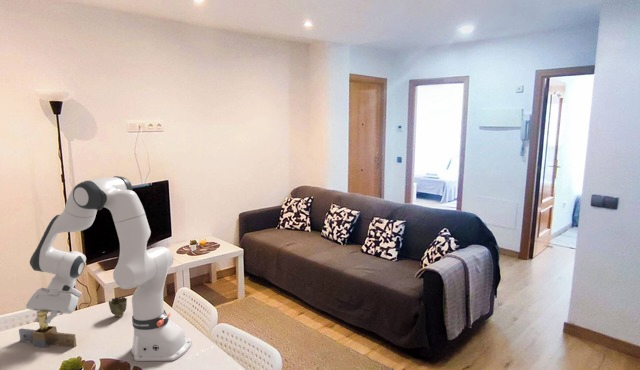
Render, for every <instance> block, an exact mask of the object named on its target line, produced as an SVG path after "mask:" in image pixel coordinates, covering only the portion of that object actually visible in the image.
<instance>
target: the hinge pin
mask: <svg viewBox="0 0 640 370" xmlns="http://www.w3.org/2000/svg"><path fill="white" fill-rule="evenodd" d="M48 313H49V312H48V310H42V311H39V312H37V311H36V317H37V316H38V318H39V322H38V326H39V328H40V332H41V333H45V332H46V331H48V330H49V328H48V326H49V323H44V320H45V318H48Z"/></svg>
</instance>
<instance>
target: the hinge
mask: <svg viewBox="0 0 640 370" xmlns="http://www.w3.org/2000/svg"><path fill="white" fill-rule="evenodd" d="M48 328H49V330H48V331H46V332H45V333H41V332H40V327H39V328H37V329H30V328H20V329H19V328H18V333H19V341H20V342H25V343H26V342H27V343H33V347H37V348H45V349H46V348H48V347H49V346H51V345H53V346H60V347H61V346H62V347H70V348H75V347H77V340H76V339H77V338H76V334H75V333H66V332H58V331H57V326H53V325H48Z"/></svg>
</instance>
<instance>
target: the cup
mask: <svg viewBox="0 0 640 370" xmlns="http://www.w3.org/2000/svg"><path fill="white" fill-rule="evenodd" d="M127 300H128V298H127V297H126V296H122V297H121V296H119V297H116V296H115V297H114V298H111V300H109V301H108V306H109V310H110V312H111V313H112V314H113V315H114V317H115V318H116V319H117V318H122V317H123V316H124V314H125V312H126V310H127V306H128V305H127V303H128V302H127Z"/></svg>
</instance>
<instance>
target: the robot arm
mask: <svg viewBox="0 0 640 370" xmlns="http://www.w3.org/2000/svg"><path fill="white" fill-rule="evenodd" d="M103 208H106V209H107V210H109V212H110V213H111V214H110V215H111V217H112V220H113V223H114V226H115V230H116V233H117V237H118V241H119V255H118V256H119V257H118V260H117V264H116V266H115V267H114V269H113V274H112V276H113V280H114V282H115V284H116V285H117V286H118V287H119V288H120V289H122V290H131V289H134V288H136V289H135V290H134V292H133V294H132V297H131V307H132V308H131V309H132V317H131V321H132V322H131V323H132V327H133V338H132V339H133V341H132V347H131V350H130V351H131V354H132V355H133V360H134V361H135V362H150V361H151V362H154V361H155V362H156V361H157V362H161V361H163V362H165V361H166V362H167V361H175V360H178V359H179V358H180V357H182V356H183V355H184V354H185V353H186V352H187V351H188V350H189V349H190V348H191V346H192V344H193V342H192V338H189V337H186V335H185V331H184V329H183V328H182V327H180V326H179V325H177V324H176V323H174V322H173V321H172V320H171V319H170V317H171V312H169V313H168V314H167V312H166V310H165V306H164V305H165V304H164V289H165V284H166V280H167V275H168V272H169V271H170V269H171V266H172V265H173V263H174V256H173V253H172V251H171V250H170V249H169V248H167V247H165V246H155V247H150V248H149V249H147V244H148V241H149V239H150V237H151V233H152V231H151V228H150V225H149V222H148V221H149V220H148V219H147V214H146V211H145V209H144V206H143V204H142V202H141V200H140V198H139V196H138V194H137V193H136V192H135V191H133V186H132V183H131V182H130V180H129V179H128V178H126V177H124V176H117V175H116V176H109V177H98V178H93V179H89V180H84V181H81V182H80V183H78V184H76V185H75V186H73V188H72V189H71V190H70V193H69V194H68V197H67V199H66V202H65V206H64V209H63V212H62V213H60V214H56V215H55V216H54V217H52V219H51V220H50V222H49V223H48V225H47V227H46V229H45V230H44V233H43V234H42V237H41V239H40V240H39V243H38V244H37V246H36V248H35V250H34V252H33V253H32V255H31V257H30V259H29V265H30V267H31V268H32V270H33V271H36V272H42V273H48V274H51V275H53V277H52V279H51V280H50V281H49V284H48V286H47V287H40V288H38V289H37V290H35V292H34V293H33V294H32V295H31V297H30V298H29V300H28V301H27V303H26V304H25V308H27V309H28V310H29V311H36V313H37V312H39V311H42V310H48V313H50V314H49V316H47V318H45V320H44V323H48V324H51V322H52V320H53V319H54V318H56V317H57V316H58V315H59V314H68V315H69V314H70V315H71V314H72V313H73V312H74V311H75V310H76V308H77V306H78V303H79V298H80V297H81V296H82V292H81V291H80V290H78V289H77V288H75V286H76V281H77V279H78V278H79V277H80V276H81V275H82V273H83V271H84V269H85V265H86V262H87V257H86V255H85V254H84V253H82V252H80V251H76V250H72V251H64V250H60V249H57V248H55V247H54V246H53V244H54V242H55V240H56V238H57V236H58V235H59V234H61V233H77V232H81V231H85V230H87V229H89V228H90V227H92V225H93V223H94V221H95V219H96V215H97V212H98V211H101V210H102V209H103ZM34 322H36V323H39V318H38V316H37V315H36V317H35V320H34Z"/></svg>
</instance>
